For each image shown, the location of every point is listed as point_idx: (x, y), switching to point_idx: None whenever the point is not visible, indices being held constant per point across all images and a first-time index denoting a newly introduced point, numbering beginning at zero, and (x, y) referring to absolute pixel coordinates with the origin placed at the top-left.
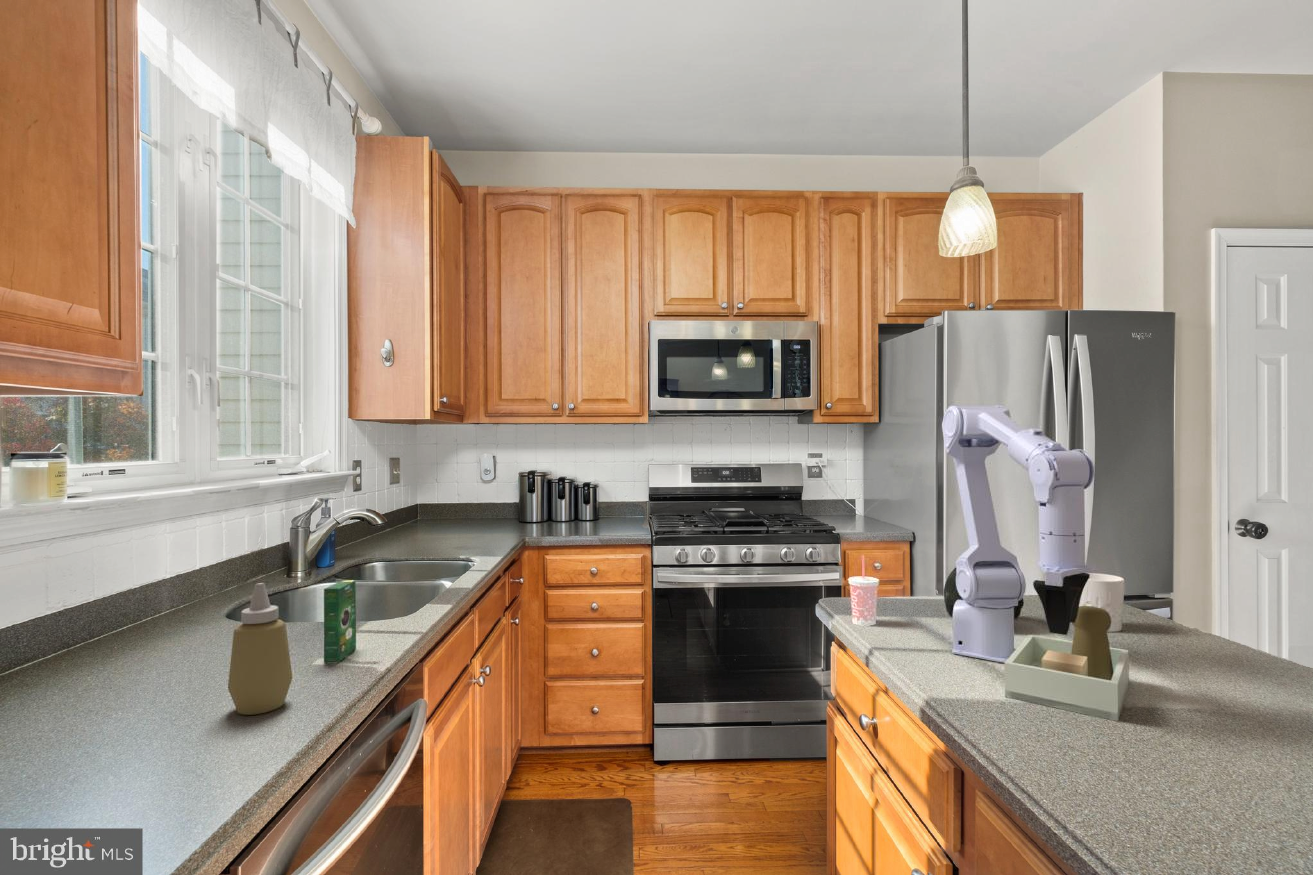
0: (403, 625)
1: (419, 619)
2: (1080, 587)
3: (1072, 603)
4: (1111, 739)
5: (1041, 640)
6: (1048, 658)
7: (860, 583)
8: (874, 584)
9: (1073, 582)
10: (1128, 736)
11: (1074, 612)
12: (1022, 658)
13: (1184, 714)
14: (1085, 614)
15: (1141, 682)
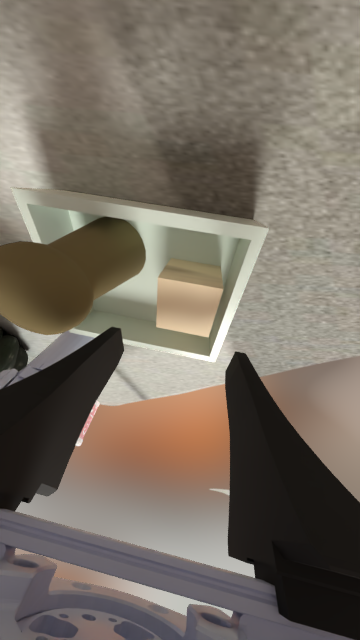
0: (228, 492)
1: (219, 490)
2: (343, 573)
3: (316, 455)
4: (332, 233)
5: None
6: (201, 329)
7: (80, 441)
8: None
9: (35, 445)
10: (316, 207)
11: (108, 346)
12: (149, 335)
13: (167, 76)
14: (68, 315)
15: (42, 166)
